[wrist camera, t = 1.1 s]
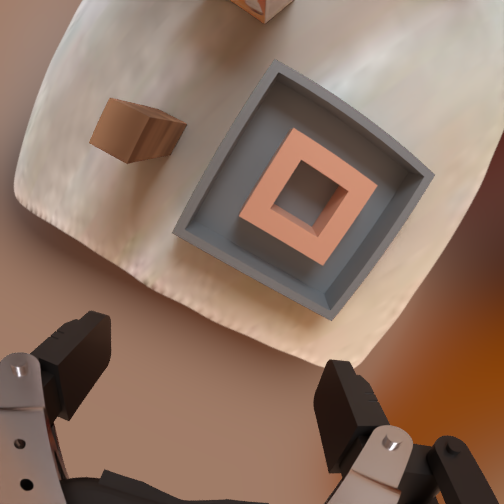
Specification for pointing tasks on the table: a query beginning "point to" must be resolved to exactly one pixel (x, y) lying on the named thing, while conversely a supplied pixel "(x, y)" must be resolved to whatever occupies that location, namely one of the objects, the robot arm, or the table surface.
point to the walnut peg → (136, 131)
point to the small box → (262, 8)
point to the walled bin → (303, 193)
